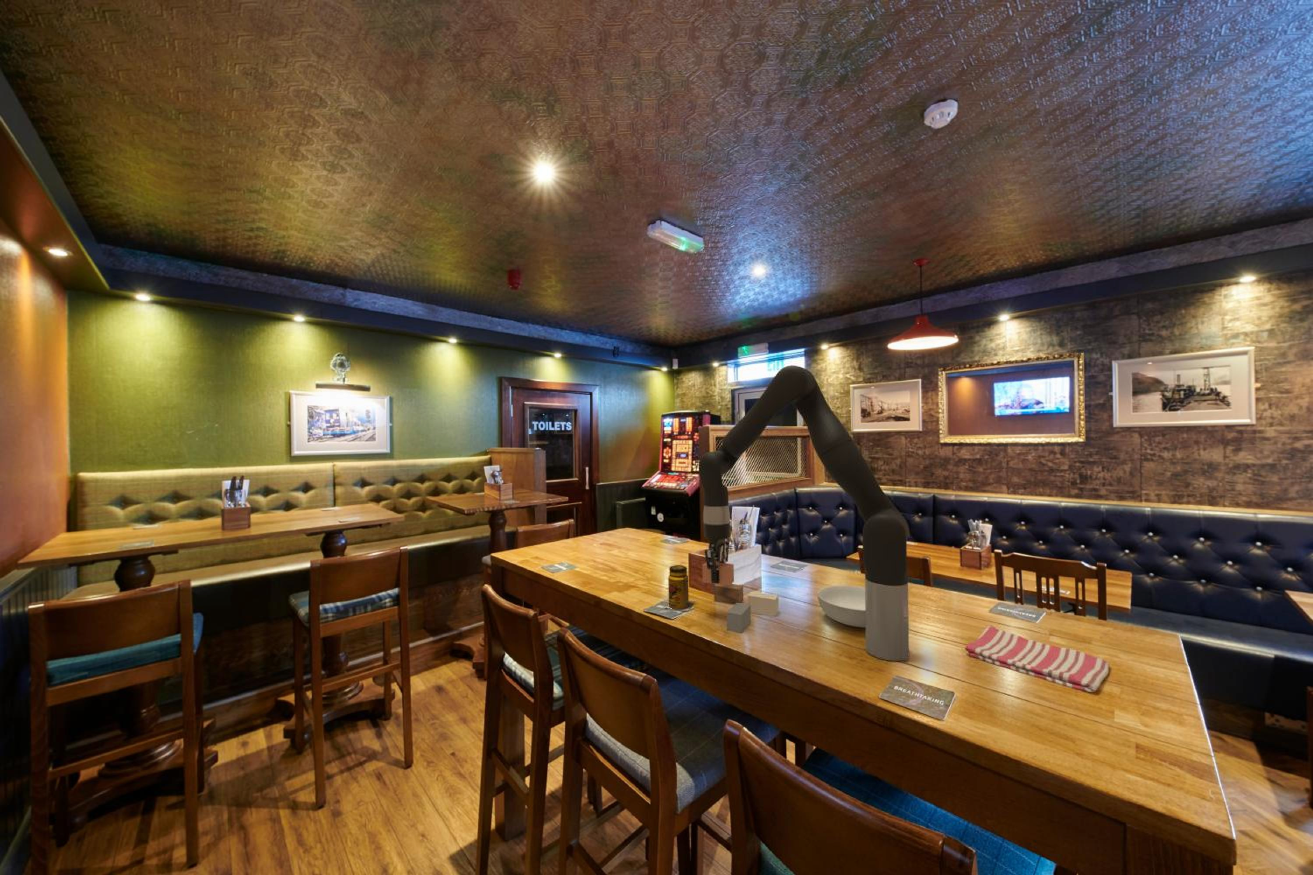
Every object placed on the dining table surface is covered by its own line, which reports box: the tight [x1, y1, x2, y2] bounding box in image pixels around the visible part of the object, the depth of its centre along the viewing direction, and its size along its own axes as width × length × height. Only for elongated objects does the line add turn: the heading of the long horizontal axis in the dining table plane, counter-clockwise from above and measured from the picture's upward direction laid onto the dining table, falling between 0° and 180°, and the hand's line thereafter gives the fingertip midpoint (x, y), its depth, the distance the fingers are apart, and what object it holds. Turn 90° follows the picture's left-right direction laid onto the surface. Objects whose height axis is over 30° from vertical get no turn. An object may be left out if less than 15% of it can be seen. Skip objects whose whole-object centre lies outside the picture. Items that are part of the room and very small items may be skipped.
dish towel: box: [964, 625, 1111, 694], centre depth 108 cm, size 17×23×4 cm
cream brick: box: [747, 591, 780, 618], centre depth 140 cm, size 8×4×5 cm, turn 62°
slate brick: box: [726, 602, 752, 634], centre depth 130 cm, size 8×4×5 cm, turn 152°
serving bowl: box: [817, 584, 865, 629], centre depth 132 cm, size 21×21×7 cm
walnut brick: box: [713, 583, 744, 606], centre depth 149 cm, size 8×4×5 cm, turn 62°
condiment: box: [665, 564, 696, 612], centre depth 146 cm, size 7×8×12 cm
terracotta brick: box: [701, 562, 735, 585], centre depth 137 cm, size 8×4×5 cm, turn 62°
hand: (718, 580), depth 137 cm, fingers closed on terracotta brick, 4 cm apart
